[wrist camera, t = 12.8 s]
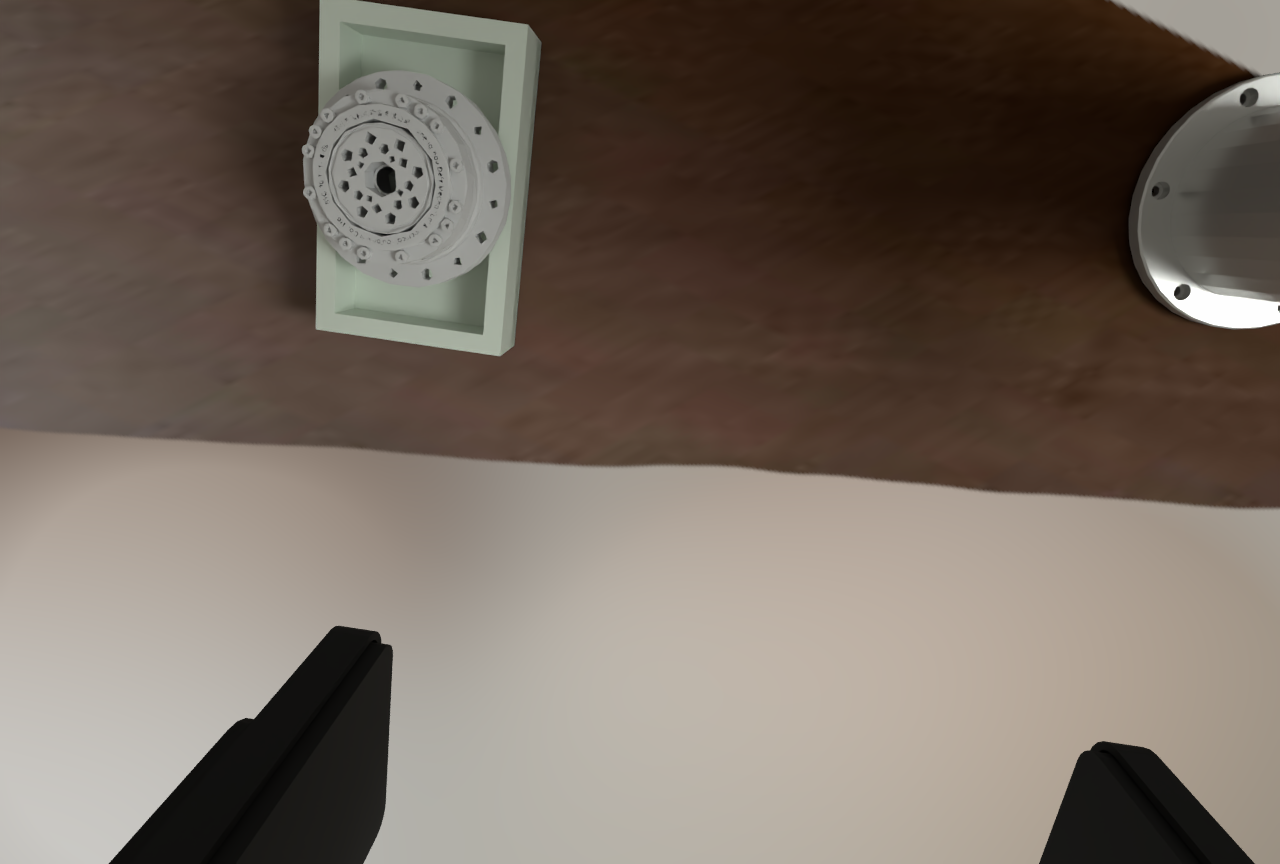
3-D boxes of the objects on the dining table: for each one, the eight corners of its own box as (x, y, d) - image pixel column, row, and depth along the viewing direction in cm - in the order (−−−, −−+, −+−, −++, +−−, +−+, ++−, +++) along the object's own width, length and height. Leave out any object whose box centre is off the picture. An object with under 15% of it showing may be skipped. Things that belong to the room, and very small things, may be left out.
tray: (541, 42, 38) (528, 24, 34) (514, 345, 42) (500, 356, 39) (351, 15, 38) (319, -5, 34) (344, 321, 42) (315, 329, 39)
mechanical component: (551, 158, 36) (378, 30, 35) (534, 149, 32) (336, 3, 30) (447, 322, 38) (283, 208, 37) (419, 334, 34) (232, 206, 33)
